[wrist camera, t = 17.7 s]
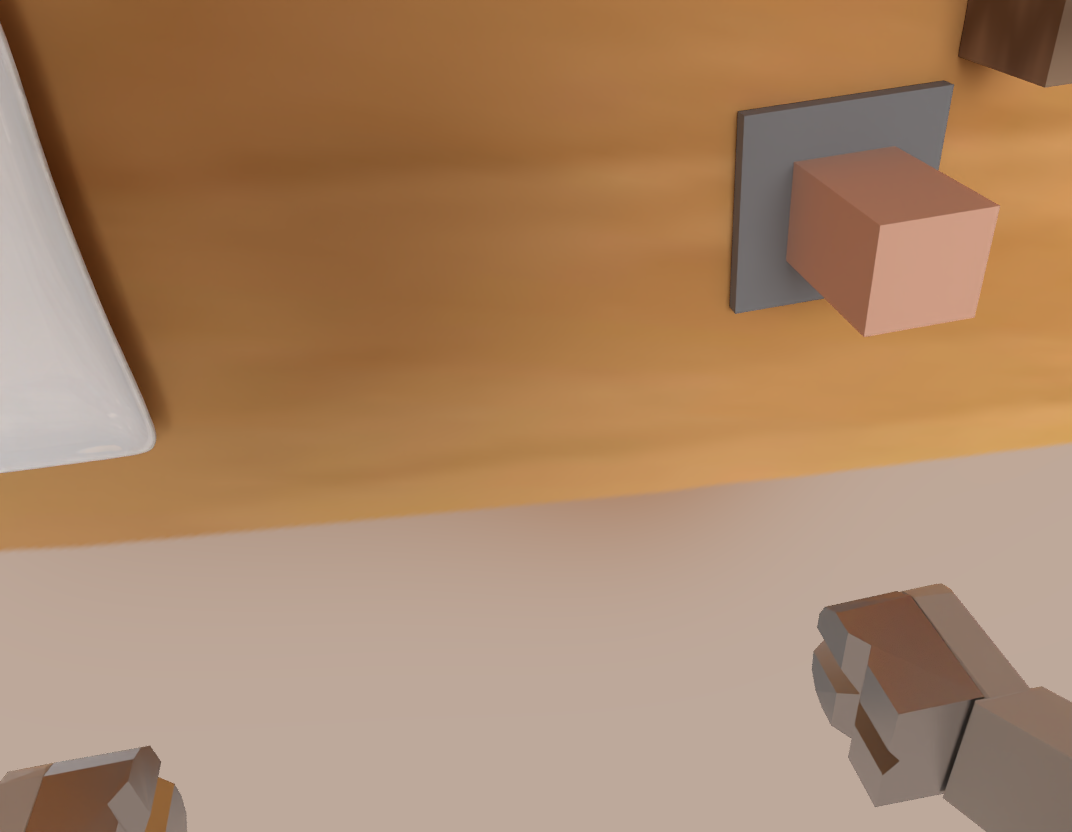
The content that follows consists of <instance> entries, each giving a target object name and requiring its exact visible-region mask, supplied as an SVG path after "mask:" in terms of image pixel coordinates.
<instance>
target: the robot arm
mask: <svg viewBox="0 0 1072 832" xmlns="http://www.w3.org/2000/svg"><path fill="white" fill-rule="evenodd" d="M817 628H818V630H819V632H820V633H821V635H822V636H823V639H824V641H823V642H822V643H821V644H820V645H819V646H818V647H817V648H816V649H815V650H814V654H813V664H812V672H813V678H814V684H815V690H816V693H817V695H818V698H819V701H820V703H821V706H822V708H823V710H824V712H825V714H826V716H827V718H828V720H829V722H830V724H831V725H832V726H833V727H835V728H836V729H838V730H839V731H841V732H842V733H844V734H846V735H847V736H848V737H850V738H852V740H851V745H850V751H849V756H848V758H849V760H850V762H851V764H852V765H853V767H854V769H855V771H856V773H857V775H858V776H859V778H860V780H861V782H862V784H863V785H864V788H865V789H866V791H867V793H868V795H869V796H870V799H871V800H872V802H873V804H874V806H875V807H878V806H883V805H888V804H893V803H898V802H903V801H908V800H914V799H918V798H924V797H928V796H934V795H939V794H944V795H943V798H944V799H945V800H946V801H948V802H949V803H950V804H951V805H953V806H954V807H955V808H957V809H958V810H959V811H960V812H962V813H963V814H964V815H966V816H967V817H968V818H969V819H971V820H972V821H973V822H975V823H976V824H977V825H978V826H980V827H981V828H982V829H984V830H985V831H986V832H1072V702H1070V701H1068V700H1066V699H1065V698H1063V697H1060V696H1059V695H1057V694H1055V693H1053V692H1051V691H1049V690H1048V689H1046V688H1044V687H1036V688H1029V687H1028V685H1027V684H1026V683H1025V681H1024V680H1023V679H1022V678H1021V676H1020V675H1019V674H1018V673H1017V671H1016V670H1015V669H1014V668H1013V667H1012V665H1011V664H1010V663H1009V661H1008V660H1007V659H1006V658H1005V657H1004V655H1003V654H1002V653H1001V651H1000V650H999V649H998V648H997V646H996V645H995V644H994V643H993V641H992V640H991V639H990V638H989V636H988V635H987V634H986V633H985V631H984V630H983V629H982V628H981V626H980V625H979V624H978V623H977V621H976V620H975V619H974V618H973V616H972V615H971V614H970V613H969V611H968V610H967V609H966V608H965V606H964V605H963V604H962V603H961V601H960V600H959V599H958V598H957V596H956V595H955V594H954V593H953V592H952V590H951V589H950V588H948V587H946V586H945V585H943V584H934V585H929V586H925V587H920V588H916V589H910V590H906V591H902V592H898V591H895V592H891V593H887V594H882V595H877V596H873V597H869V598H864V599H859V600H854V601H850V602H845V603H841V604H836V605H832V606H827V607H825V608H824V609H823V610H822V611H821V613H820V614H819V620H818V626H817ZM160 765H161V761H160V759H159V758H158V757H157V755H156V754H155V752H154V751H153V749H152V748H151V746H146V747H140V748H134V749H129V750H124V751H118V752H112V753H107V754H102V755H96V756H91V757H84V758H79V759H73V760H68V761H62V762H56V763H51V764H45V765H40V766H35V767H30V768H25V769H20V770H15V771H10V772H7V774H6V775H5V776H4V777H3V779H2V780H1V781H0V832H187V822H186V811H185V807H184V803H183V800H182V796H181V794H180V793H179V791H178V789H177V787H176V786H175V784H173V783H171V782H169V781H166V780H164V779H162V778H159V777H158V775H159V770H160Z"/></svg>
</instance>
